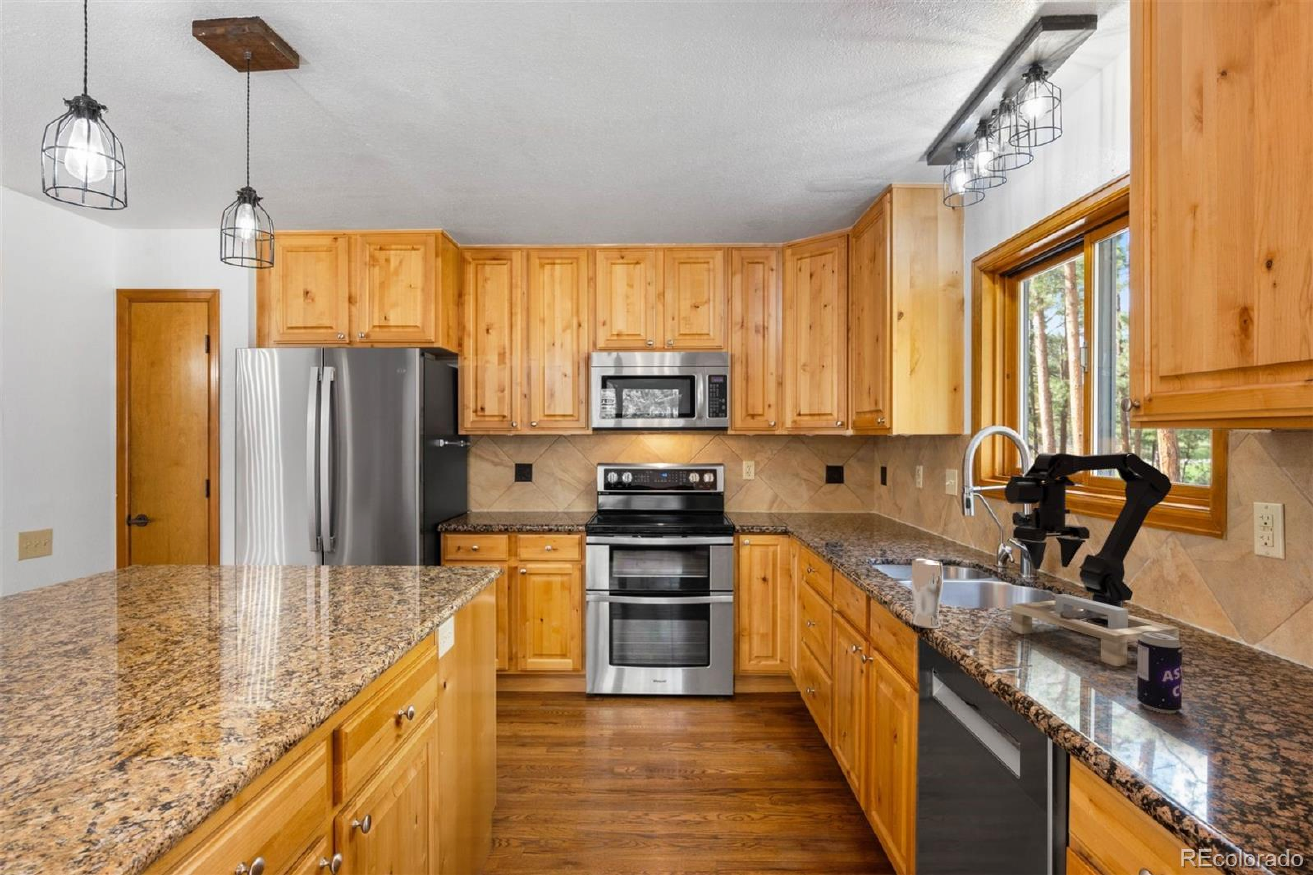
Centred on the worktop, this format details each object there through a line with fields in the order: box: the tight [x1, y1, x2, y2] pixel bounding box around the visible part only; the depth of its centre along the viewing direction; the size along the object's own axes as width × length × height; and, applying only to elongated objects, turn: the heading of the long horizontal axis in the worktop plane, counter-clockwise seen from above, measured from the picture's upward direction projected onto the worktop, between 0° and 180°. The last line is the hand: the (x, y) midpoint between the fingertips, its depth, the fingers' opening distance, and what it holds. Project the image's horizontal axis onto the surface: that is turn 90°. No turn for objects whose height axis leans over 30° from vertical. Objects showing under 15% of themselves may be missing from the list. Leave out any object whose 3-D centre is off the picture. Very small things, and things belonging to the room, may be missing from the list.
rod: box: [1060, 609, 1108, 620], centre depth 137 cm, size 15×2×2 cm, turn 109°
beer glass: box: [910, 558, 944, 629], centre depth 148 cm, size 7×7×15 cm
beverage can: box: [1136, 631, 1183, 715], centre depth 103 cm, size 6×6×12 cm
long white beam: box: [1054, 593, 1129, 630], centre depth 137 cm, size 3×14×6 cm, turn 19°
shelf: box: [1010, 599, 1180, 667], centre depth 137 cm, size 18×24×6 cm
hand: (1050, 568), depth 153 cm, fingers open, 9 cm apart
